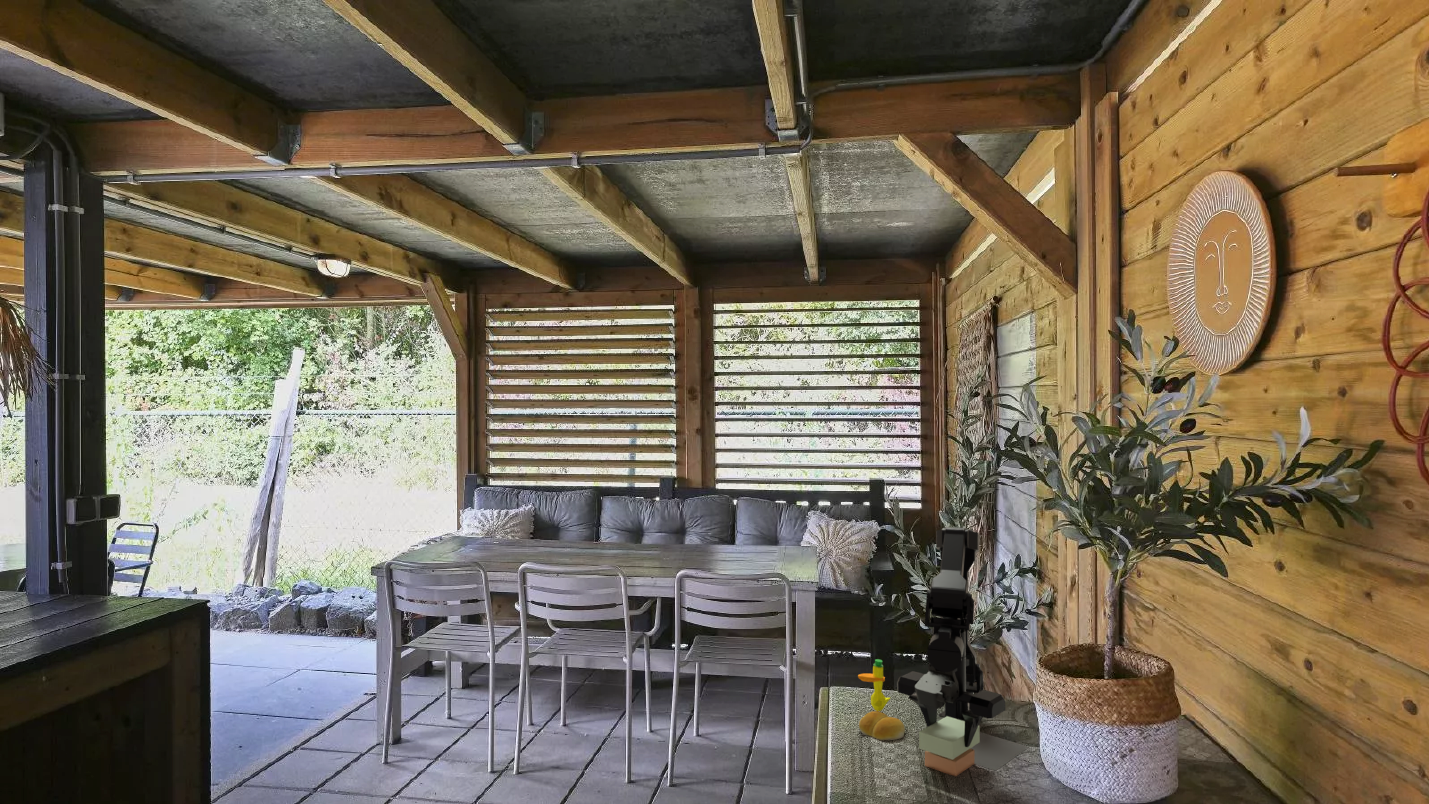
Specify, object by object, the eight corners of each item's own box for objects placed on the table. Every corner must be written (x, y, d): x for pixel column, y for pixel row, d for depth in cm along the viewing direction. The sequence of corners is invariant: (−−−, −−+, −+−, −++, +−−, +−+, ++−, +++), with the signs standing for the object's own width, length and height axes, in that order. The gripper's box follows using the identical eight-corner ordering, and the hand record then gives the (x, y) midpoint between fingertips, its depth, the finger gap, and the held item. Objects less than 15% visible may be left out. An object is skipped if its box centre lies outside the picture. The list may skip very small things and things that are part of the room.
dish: (944, 756, 148) (944, 740, 148) (974, 766, 144) (974, 749, 144) (924, 768, 143) (924, 751, 143) (955, 779, 139) (955, 762, 139)
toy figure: (858, 718, 166) (857, 661, 166) (858, 712, 170) (858, 656, 170) (890, 721, 165) (890, 663, 165) (891, 715, 168) (890, 658, 168)
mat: (979, 734, 158) (979, 731, 158) (1029, 749, 151) (1029, 746, 151) (944, 756, 148) (944, 753, 148) (995, 773, 141) (995, 770, 141)
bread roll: (889, 747, 153) (888, 726, 153) (852, 733, 159) (852, 713, 159) (914, 735, 158) (914, 715, 158) (877, 722, 165) (877, 703, 165)
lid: (947, 732, 149) (946, 716, 149) (979, 742, 145) (979, 725, 145) (919, 748, 142) (919, 731, 142) (952, 759, 138) (952, 742, 138)
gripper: (880, 653, 145) (880, 739, 144) (976, 677, 131) (977, 772, 131) (912, 640, 152) (913, 721, 152) (1006, 662, 139) (1007, 751, 139)
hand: (949, 740), depth 144 cm, fingers closed on lid, 6 cm apart
